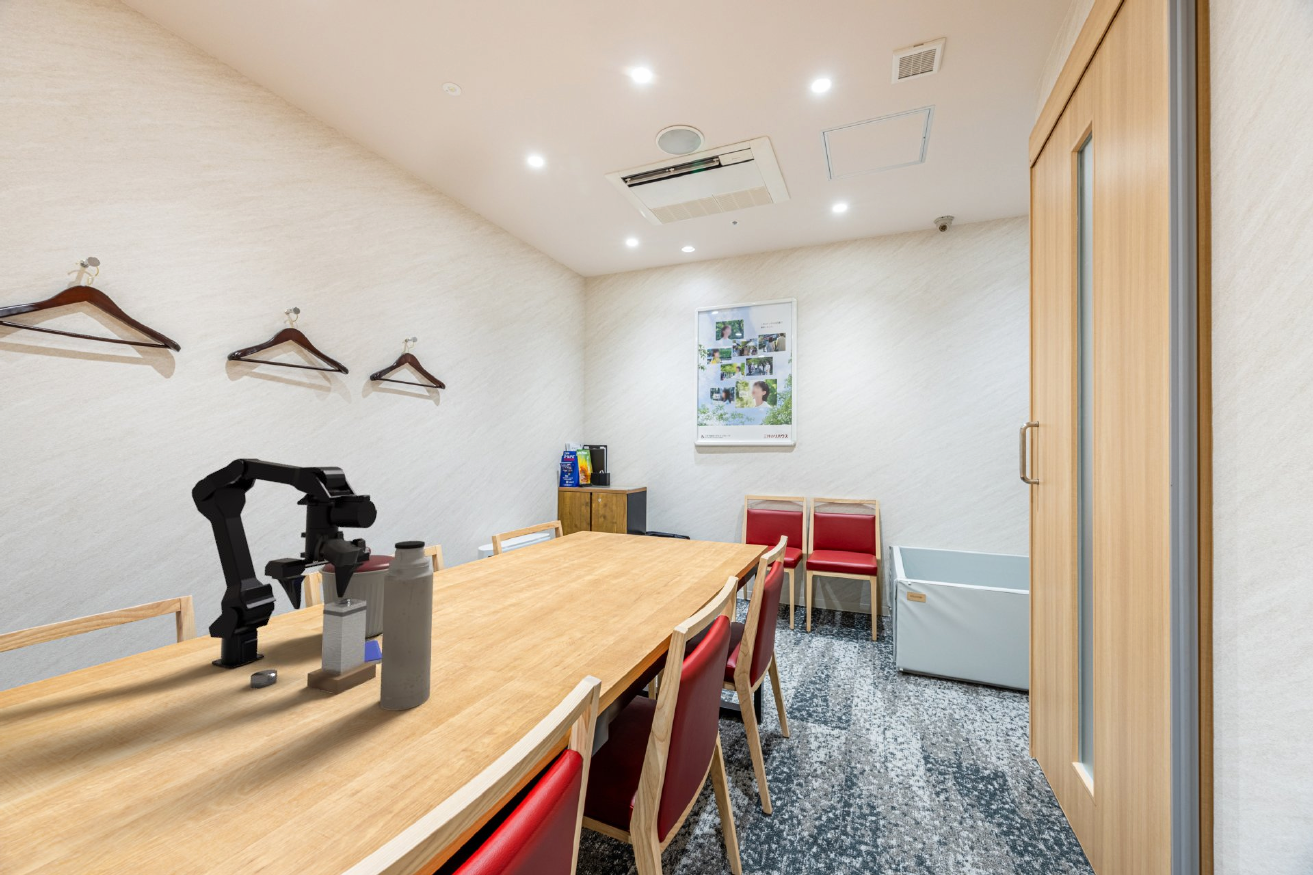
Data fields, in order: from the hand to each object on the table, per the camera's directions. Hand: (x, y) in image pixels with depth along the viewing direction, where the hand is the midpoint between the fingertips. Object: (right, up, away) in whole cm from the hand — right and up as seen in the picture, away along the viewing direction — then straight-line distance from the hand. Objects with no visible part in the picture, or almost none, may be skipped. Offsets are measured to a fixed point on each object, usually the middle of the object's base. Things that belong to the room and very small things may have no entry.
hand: (319, 602), depth 105 cm
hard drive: (+5, -14, +5) cm, 16 cm away
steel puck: (-5, -13, -8) cm, 16 cm away
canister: (-3, -14, +20) cm, 24 cm away
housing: (+9, -10, -7) cm, 15 cm away
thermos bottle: (+25, -13, -14) cm, 31 cm away
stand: (+9, -13, -7) cm, 17 cm away
